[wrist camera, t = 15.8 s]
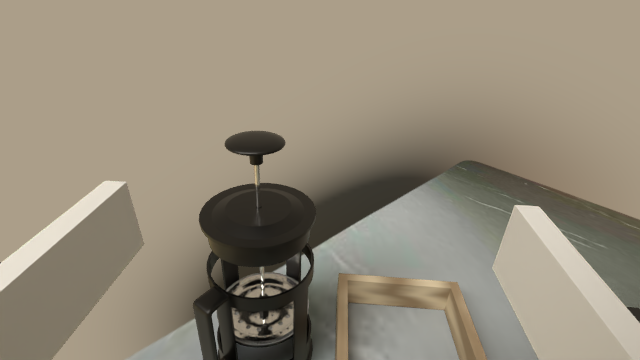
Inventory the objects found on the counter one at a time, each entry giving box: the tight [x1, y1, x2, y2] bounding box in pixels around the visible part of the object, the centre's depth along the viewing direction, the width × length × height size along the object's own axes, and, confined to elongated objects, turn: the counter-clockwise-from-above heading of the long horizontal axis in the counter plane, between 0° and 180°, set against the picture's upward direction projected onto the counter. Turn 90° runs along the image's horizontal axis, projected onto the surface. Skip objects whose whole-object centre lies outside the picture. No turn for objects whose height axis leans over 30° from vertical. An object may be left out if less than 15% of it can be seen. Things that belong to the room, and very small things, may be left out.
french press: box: [193, 131, 316, 360], centre depth 29 cm, size 12×9×23 cm
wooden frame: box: [335, 273, 487, 360], centre depth 33 cm, size 14×17×4 cm
